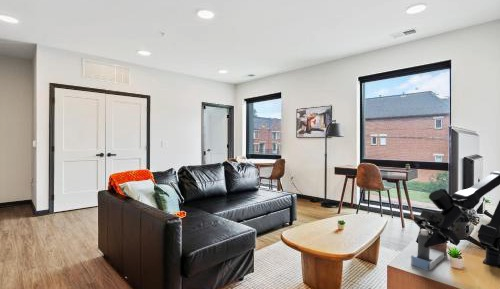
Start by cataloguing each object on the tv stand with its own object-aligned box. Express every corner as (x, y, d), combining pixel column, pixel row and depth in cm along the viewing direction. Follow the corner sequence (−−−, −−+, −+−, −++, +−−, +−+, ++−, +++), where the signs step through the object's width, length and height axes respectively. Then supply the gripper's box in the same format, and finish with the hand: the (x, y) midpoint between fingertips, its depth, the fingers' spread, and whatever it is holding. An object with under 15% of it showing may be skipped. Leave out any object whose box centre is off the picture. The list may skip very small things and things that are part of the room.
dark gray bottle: (421, 257, 110) (422, 227, 110) (431, 261, 106) (432, 231, 106) (415, 259, 108) (416, 229, 108) (425, 263, 105) (426, 232, 104)
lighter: (424, 249, 123) (425, 228, 123) (427, 247, 125) (427, 226, 125) (445, 255, 117) (446, 233, 117) (447, 253, 119) (448, 231, 119)
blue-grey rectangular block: (427, 253, 119) (427, 245, 119) (444, 258, 114) (444, 250, 114) (411, 264, 108) (411, 256, 108) (429, 270, 103) (429, 262, 103)
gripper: (417, 198, 116) (393, 223, 116) (454, 209, 98) (425, 239, 97) (433, 215, 117) (409, 240, 116) (473, 230, 99) (444, 260, 98)
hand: (420, 244), depth 107 cm, fingers closed on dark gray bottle, 4 cm apart
